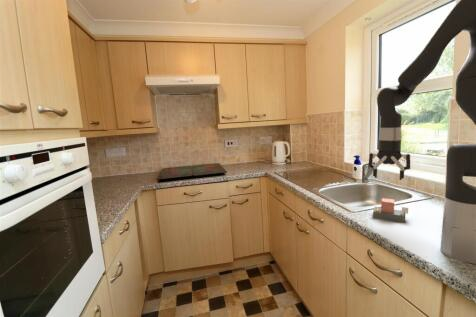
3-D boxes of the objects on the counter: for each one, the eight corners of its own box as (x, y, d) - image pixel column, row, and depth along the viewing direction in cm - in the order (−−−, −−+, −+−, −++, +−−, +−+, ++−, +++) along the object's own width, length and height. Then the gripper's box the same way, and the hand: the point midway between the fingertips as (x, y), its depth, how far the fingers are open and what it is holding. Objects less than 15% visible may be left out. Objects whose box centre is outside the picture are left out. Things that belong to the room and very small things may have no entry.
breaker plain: (407, 213, 94) (408, 207, 93) (401, 212, 95) (402, 206, 94) (407, 212, 95) (408, 206, 95) (401, 211, 96) (402, 205, 96)
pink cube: (393, 213, 96) (394, 202, 95) (381, 211, 98) (381, 201, 97) (393, 209, 99) (394, 199, 98) (381, 207, 102) (382, 198, 101)
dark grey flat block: (404, 222, 93) (405, 214, 92) (373, 217, 99) (373, 209, 98) (404, 216, 97) (405, 209, 97) (374, 212, 104) (374, 205, 103)
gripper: (368, 139, 95) (367, 178, 97) (412, 139, 87) (409, 182, 89) (370, 138, 101) (368, 175, 103) (411, 138, 93) (408, 178, 95)
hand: (387, 178), depth 96 cm, fingers open, 8 cm apart
